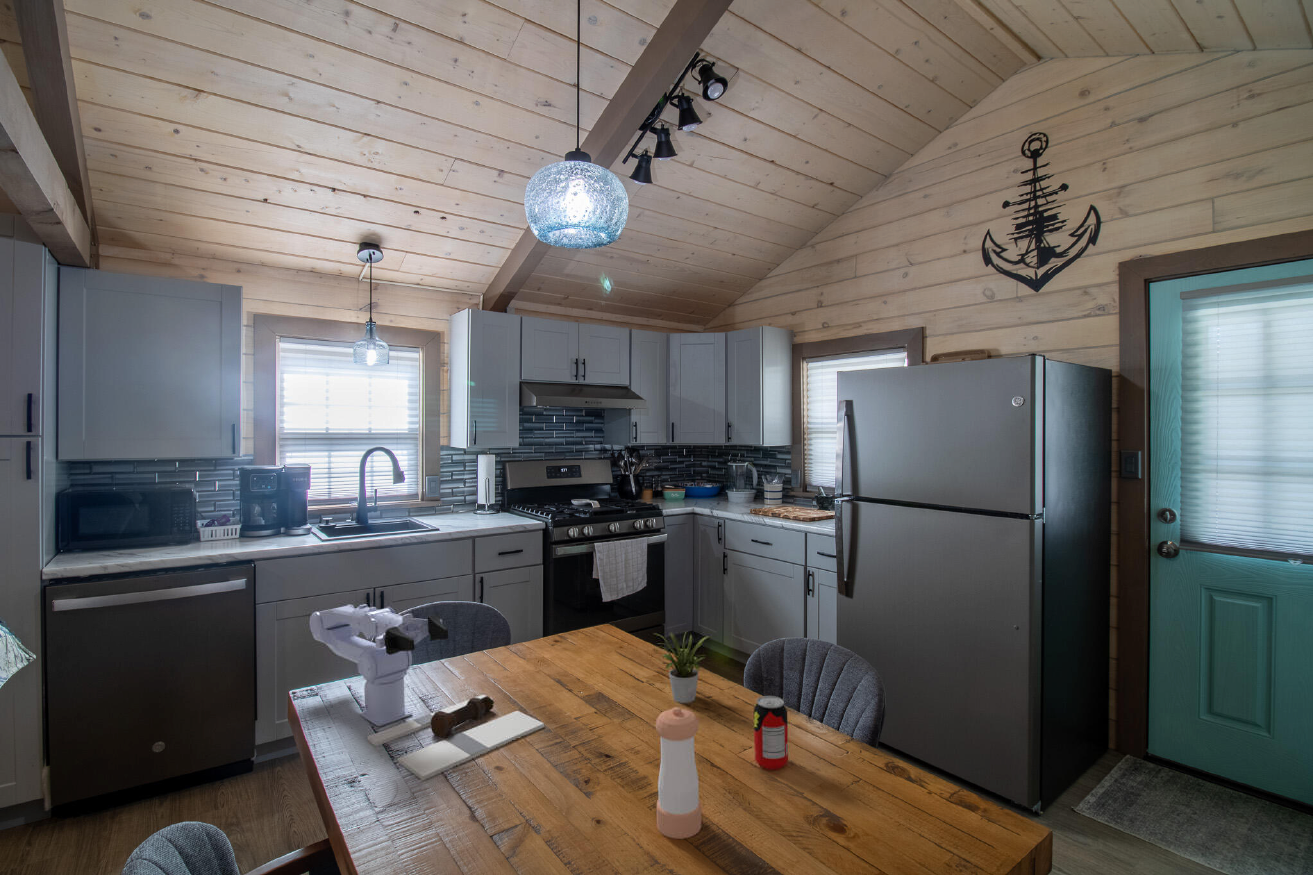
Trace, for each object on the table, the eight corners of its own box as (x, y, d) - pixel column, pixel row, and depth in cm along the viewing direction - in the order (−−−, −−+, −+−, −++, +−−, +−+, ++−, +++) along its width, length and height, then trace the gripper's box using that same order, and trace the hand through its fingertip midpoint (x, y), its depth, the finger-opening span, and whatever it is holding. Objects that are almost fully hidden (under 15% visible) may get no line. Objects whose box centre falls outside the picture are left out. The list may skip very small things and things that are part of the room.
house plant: (639, 706, 150) (638, 636, 150) (661, 684, 163) (660, 619, 162) (697, 715, 144) (696, 643, 144) (715, 691, 157) (714, 625, 157)
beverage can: (790, 757, 125) (789, 696, 125) (785, 774, 119) (784, 710, 119) (758, 753, 127) (756, 692, 127) (752, 769, 121) (750, 706, 121)
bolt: (492, 719, 149) (440, 744, 136) (478, 704, 151) (426, 728, 138) (501, 699, 148) (450, 723, 135) (487, 685, 150) (436, 707, 137)
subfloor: (367, 740, 136) (367, 736, 136) (483, 697, 156) (483, 694, 156) (422, 780, 120) (422, 775, 120) (544, 726, 140) (543, 723, 140)
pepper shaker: (655, 813, 108) (652, 699, 108) (698, 809, 108) (695, 697, 108) (658, 840, 101) (656, 719, 100) (704, 837, 101) (702, 716, 101)
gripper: (364, 620, 138) (395, 630, 129) (426, 602, 149) (459, 611, 140) (366, 652, 138) (398, 665, 129) (428, 633, 149) (461, 643, 140)
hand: (430, 639), depth 134 cm, fingers open, 7 cm apart
